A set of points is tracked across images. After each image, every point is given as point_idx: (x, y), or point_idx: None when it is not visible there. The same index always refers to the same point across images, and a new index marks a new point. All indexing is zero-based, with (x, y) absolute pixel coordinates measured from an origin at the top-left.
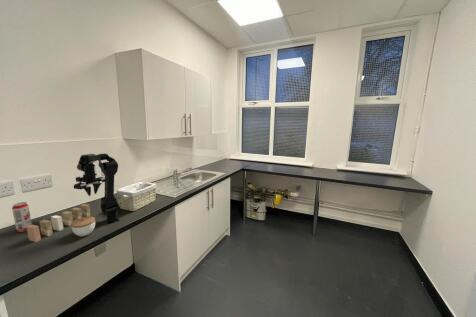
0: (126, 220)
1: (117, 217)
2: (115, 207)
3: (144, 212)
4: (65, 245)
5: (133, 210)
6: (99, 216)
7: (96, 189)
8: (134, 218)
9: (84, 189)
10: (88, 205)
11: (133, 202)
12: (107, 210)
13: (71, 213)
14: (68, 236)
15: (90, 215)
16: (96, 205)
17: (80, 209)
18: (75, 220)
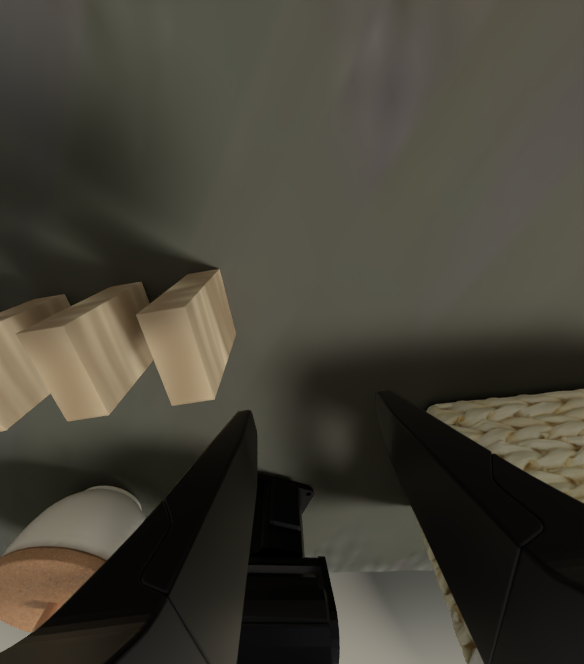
0: (308, 546)
1: (305, 506)
2: (318, 570)
3: (421, 548)
4: (11, 529)
5: (414, 513)
6: (267, 395)
7: (430, 535)
8: (343, 557)
9: (65, 613)
10: (203, 400)
11: (443, 592)
12: (255, 566)
13: (13, 422)
14: (35, 473)
15: (233, 336)
16: (425, 115)
17: (108, 410)
18: (11, 573)
